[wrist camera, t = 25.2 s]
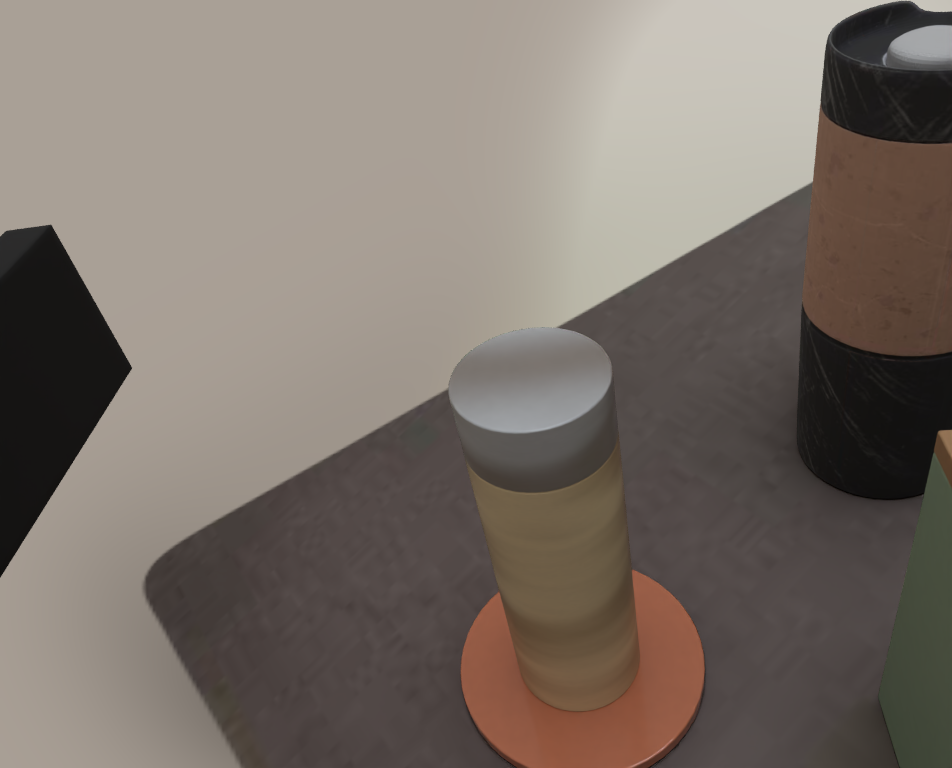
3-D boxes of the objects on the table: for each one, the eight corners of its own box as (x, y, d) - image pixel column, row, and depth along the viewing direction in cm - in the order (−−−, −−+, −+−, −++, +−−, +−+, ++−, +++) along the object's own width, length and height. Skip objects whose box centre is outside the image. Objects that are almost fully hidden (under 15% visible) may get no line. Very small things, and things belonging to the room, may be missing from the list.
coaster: (720, 589, 37) (720, 580, 36) (683, 818, 30) (682, 810, 29) (505, 552, 40) (503, 544, 40) (427, 748, 33) (424, 741, 33)
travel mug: (859, 527, 38) (932, 92, 25) (759, 427, 44) (778, 34, 31) (1001, 467, 39) (1136, 23, 27) (885, 378, 45) (951, -20, 32)
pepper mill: (642, 687, 36) (647, 829, 22) (526, 688, 37) (460, 826, 23) (617, 359, 37) (605, 300, 23) (505, 368, 38) (431, 317, 24)
